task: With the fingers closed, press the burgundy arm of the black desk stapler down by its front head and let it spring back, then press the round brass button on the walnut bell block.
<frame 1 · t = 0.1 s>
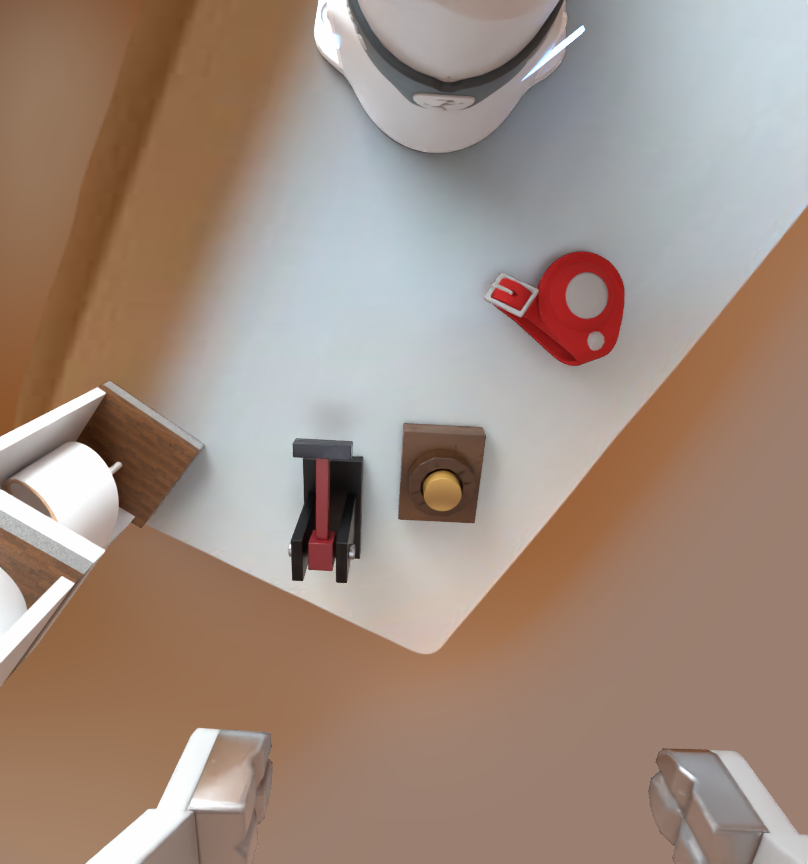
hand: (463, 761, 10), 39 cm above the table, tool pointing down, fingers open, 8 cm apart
stapler: (334, 505, 53), on the table
display case: (132, 452, 50), on the table
bell button: (442, 490, 47), point 4 cm above the table, slide at 0.1 cm
bell block: (439, 469, 51), on the table
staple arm: (322, 505, 44), point 8 cm above the table, hinge at -5.1°
tracker holder: (553, 297, 44), on the table
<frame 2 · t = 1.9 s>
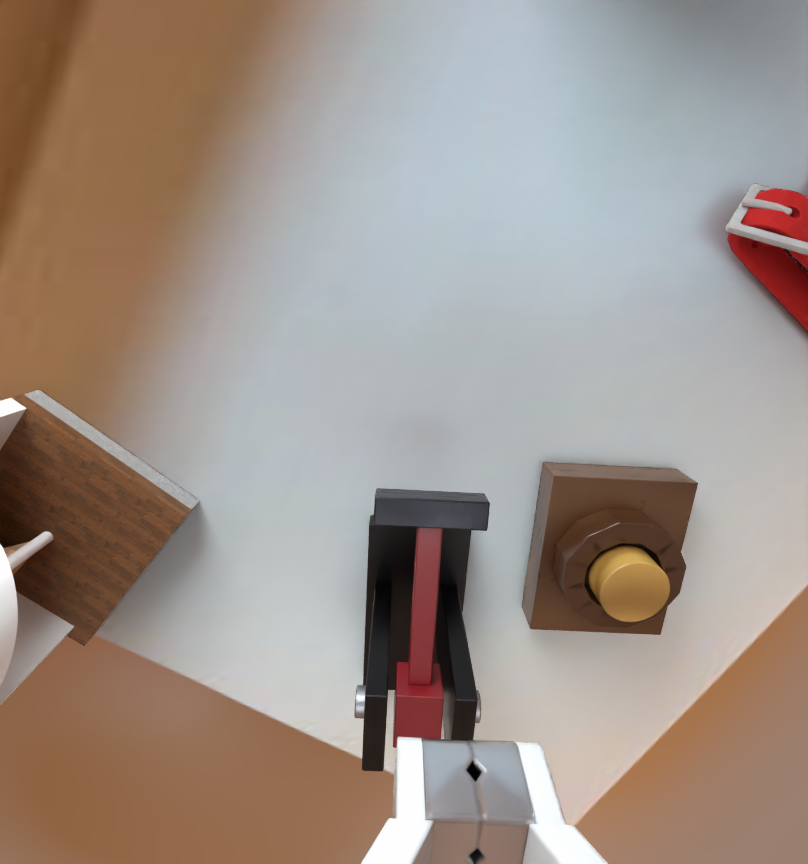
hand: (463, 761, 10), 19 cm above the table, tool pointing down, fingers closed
stapler: (413, 601, 31), on the table
display case: (76, 514, 30), on the table
bell button: (627, 583, 26), point 4 cm above the table, slide at 0.1 cm
bell block: (595, 540, 30), on the table
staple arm: (423, 617, 23), point 8 cm above the table, hinge at -5.8°
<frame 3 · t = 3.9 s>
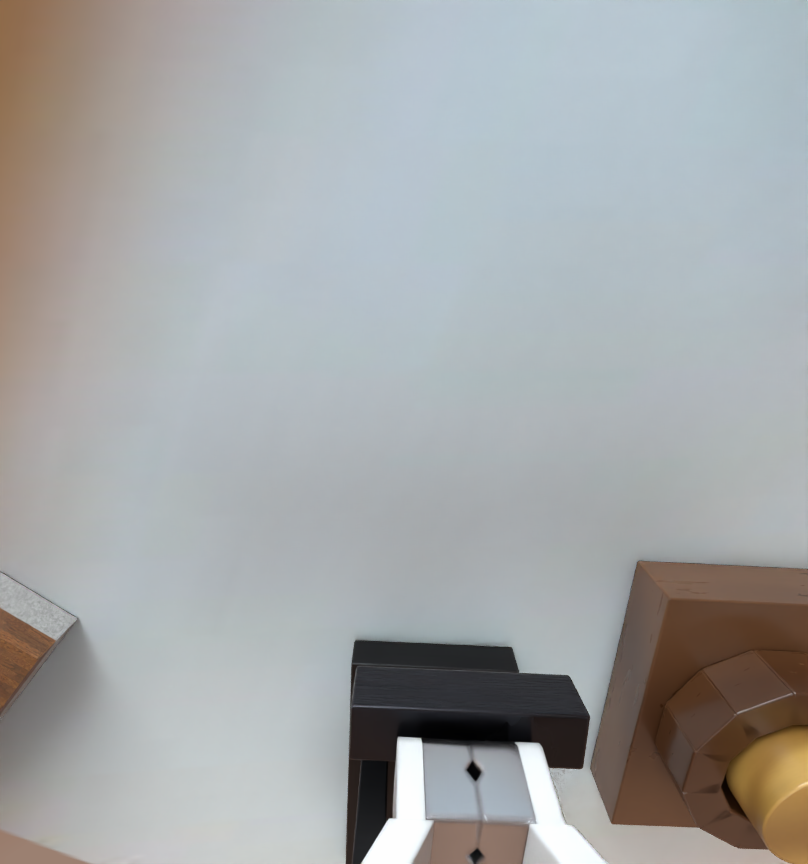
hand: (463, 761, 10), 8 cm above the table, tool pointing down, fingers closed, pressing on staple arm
stapler: (423, 761, 20), on the table
bell button: (803, 793, 15), point 4 cm above the table, slide at 0.1 cm
bell block: (713, 677, 19), on the table
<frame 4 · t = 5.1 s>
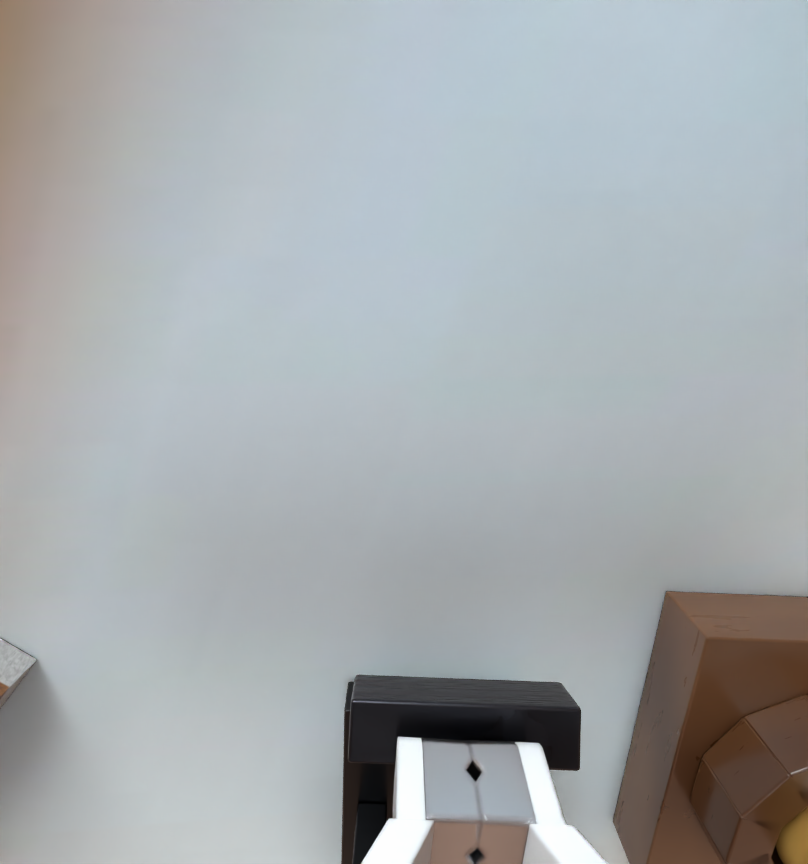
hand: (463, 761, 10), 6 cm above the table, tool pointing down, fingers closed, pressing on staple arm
stapler: (426, 815, 18), on the table
bell block: (750, 719, 17), on the table
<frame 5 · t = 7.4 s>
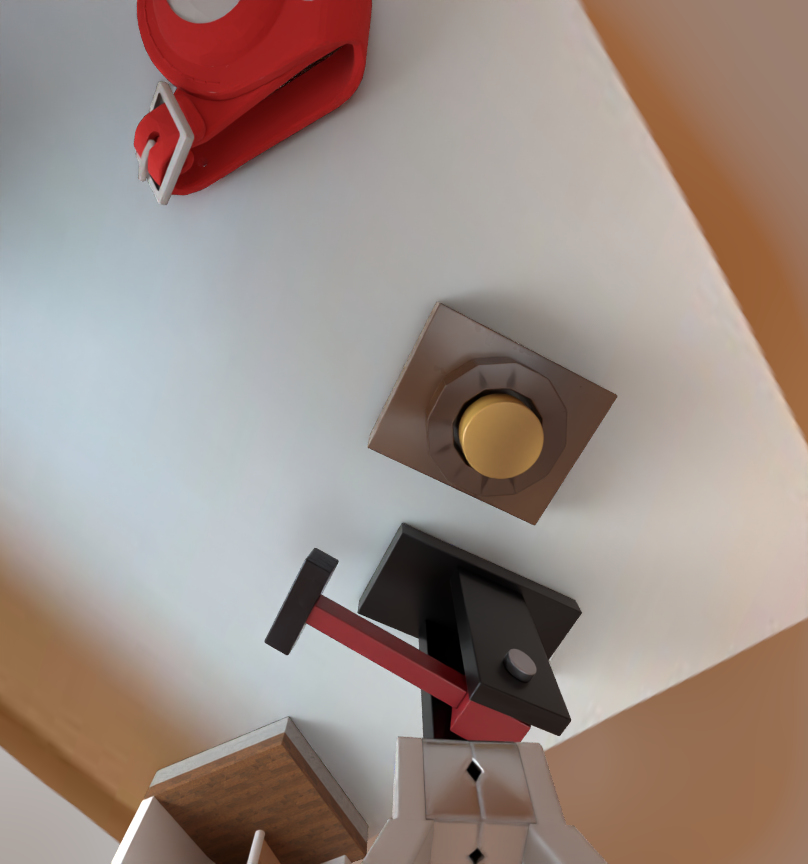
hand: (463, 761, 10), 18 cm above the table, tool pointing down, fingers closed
stapler: (467, 600, 30), on the table
display case: (266, 796, 35), on the table
bell button: (499, 435, 22), point 4 cm above the table, slide at 0.1 cm
bell block: (483, 411, 26), on the table
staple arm: (401, 658, 23), point 7 cm above the table, hinge at -11.1°
tracker holder: (233, 66, 22), on the table
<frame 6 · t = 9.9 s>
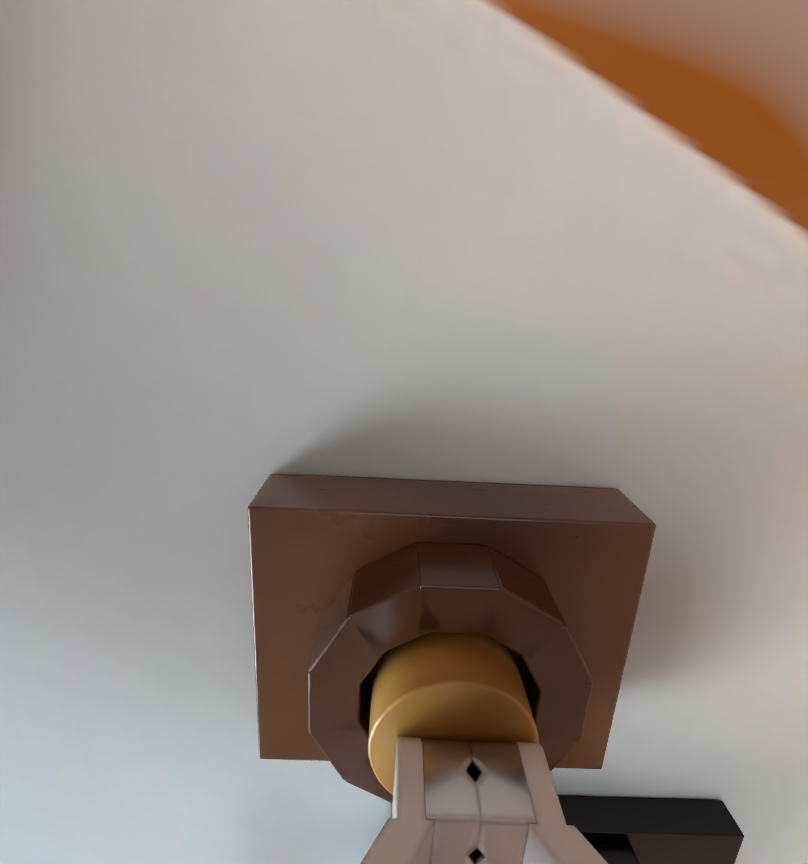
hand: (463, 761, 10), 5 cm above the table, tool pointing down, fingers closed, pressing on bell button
stapler: (547, 853, 18), on the table
bell button: (449, 716, 11), point 4 cm above the table, slide at -0.1 cm, touching gripper
bell block: (436, 600, 15), on the table
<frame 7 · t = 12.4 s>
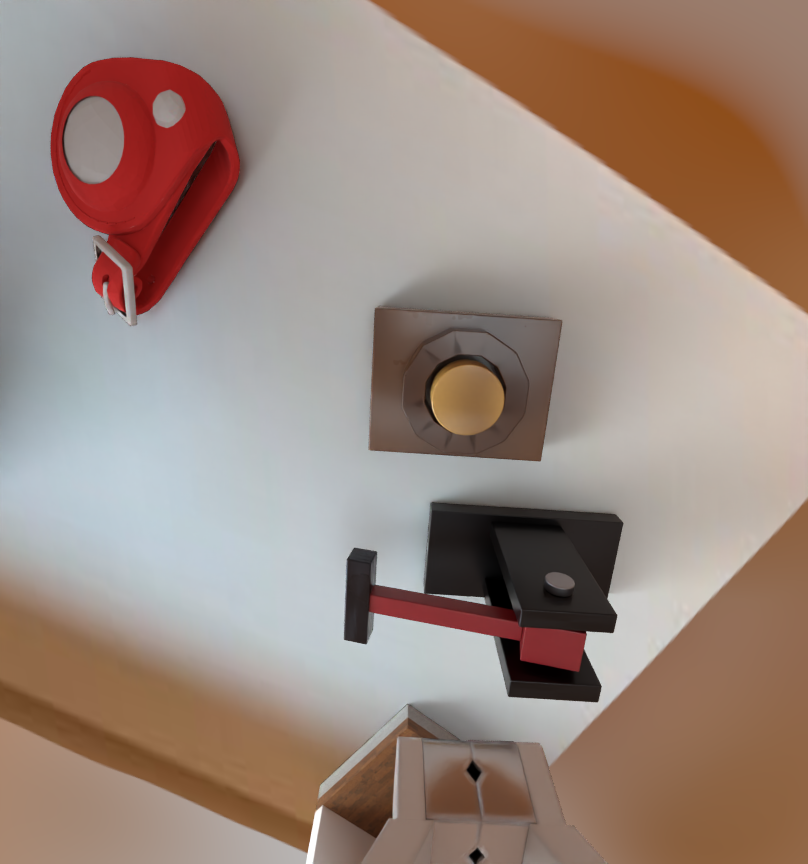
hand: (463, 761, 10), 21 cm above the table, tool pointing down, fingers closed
stapler: (517, 549, 32), on the table
display case: (419, 780, 38), on the table
bell button: (466, 397, 25), point 4 cm above the table, slide at 0.1 cm
bell block: (457, 380, 29), on the table
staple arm: (459, 614, 25), point 7 cm above the table, hinge at -11.1°
tracker holder: (144, 196, 26), on the table
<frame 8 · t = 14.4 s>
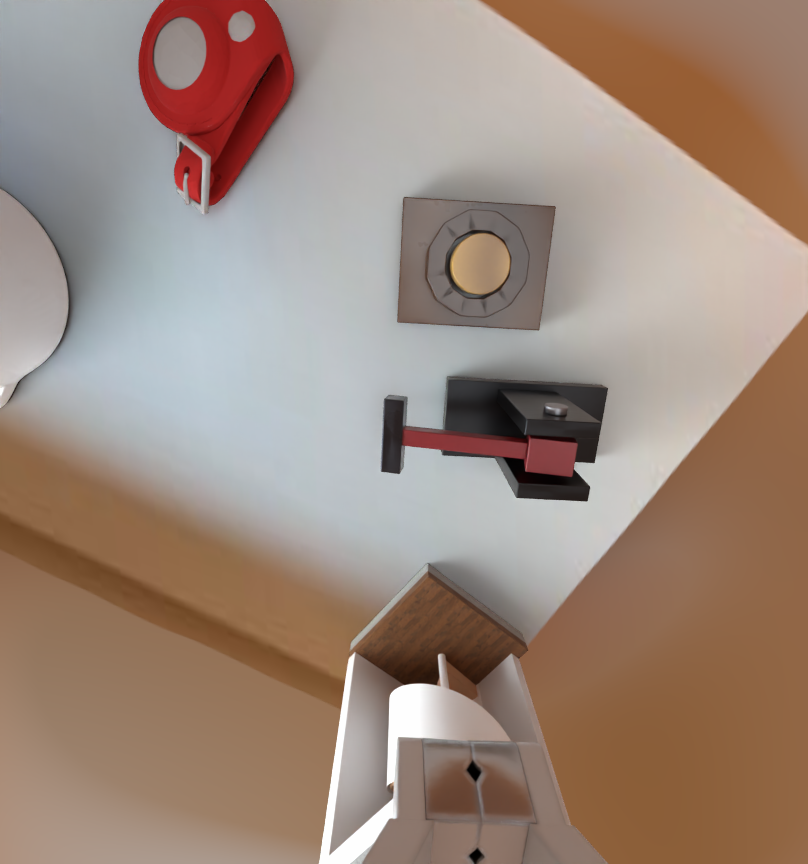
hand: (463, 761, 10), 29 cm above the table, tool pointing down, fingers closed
stapler: (519, 418, 38), on the table
display case: (436, 636, 44), on the table
bell button: (479, 264, 31), point 4 cm above the table, slide at 0.1 cm
bell block: (469, 267, 35), on the table
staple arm: (475, 443, 31), point 7 cm above the table, hinge at -11.1°
tracker holder: (212, 108, 32), on the table
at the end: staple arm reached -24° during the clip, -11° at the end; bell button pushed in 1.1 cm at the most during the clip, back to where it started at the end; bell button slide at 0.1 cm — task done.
